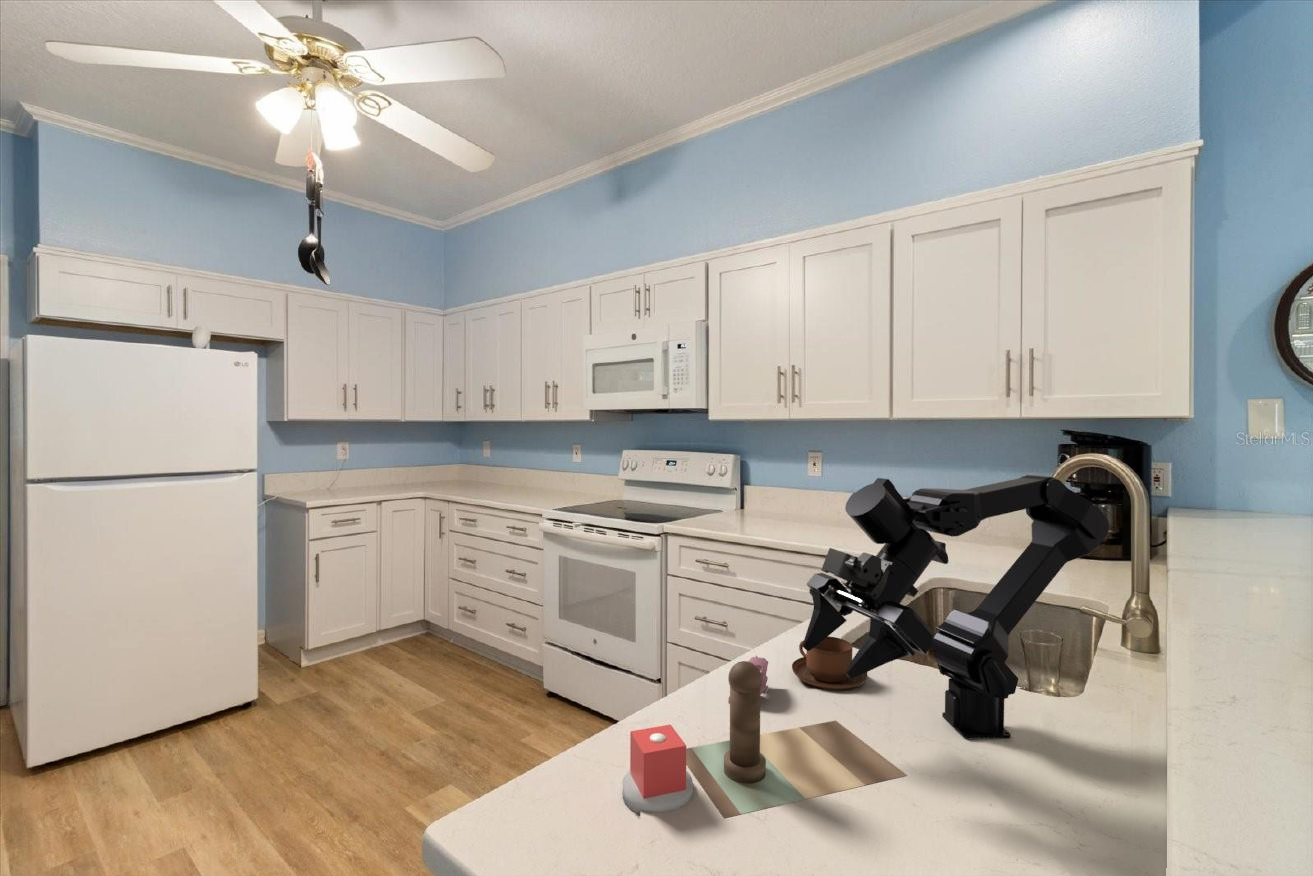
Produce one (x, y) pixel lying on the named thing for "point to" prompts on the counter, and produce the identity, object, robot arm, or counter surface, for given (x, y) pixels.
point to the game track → (791, 768)
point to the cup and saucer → (827, 665)
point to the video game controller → (762, 666)
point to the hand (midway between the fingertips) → (825, 661)
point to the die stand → (657, 771)
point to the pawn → (745, 725)
